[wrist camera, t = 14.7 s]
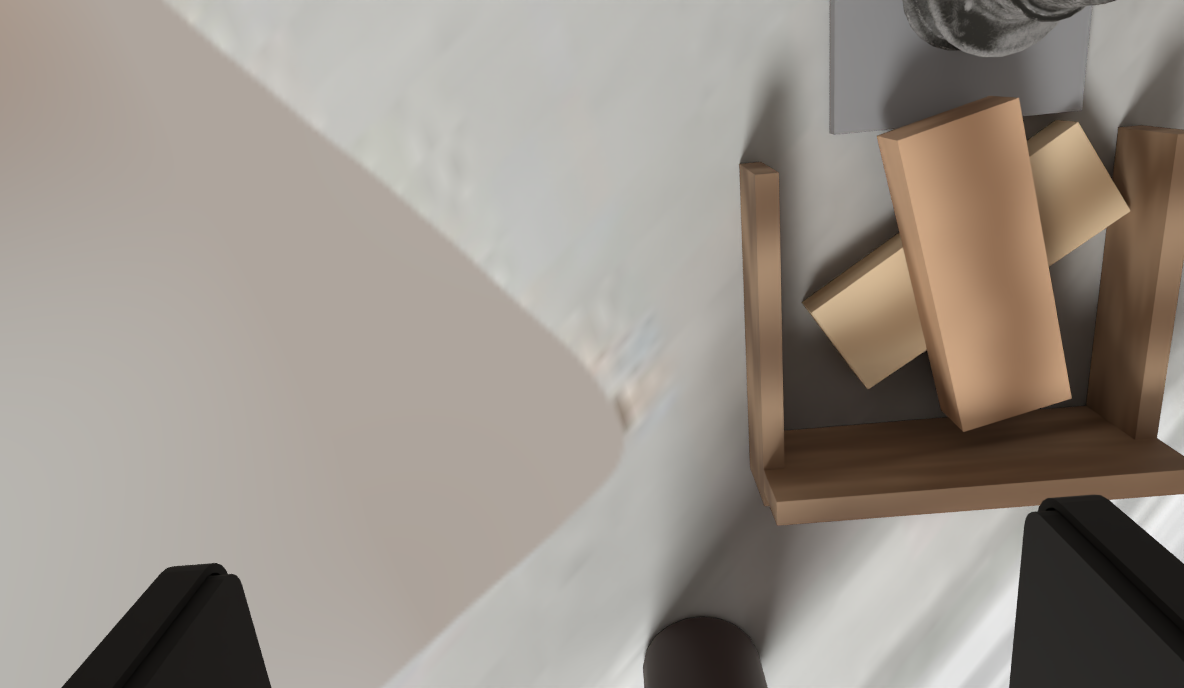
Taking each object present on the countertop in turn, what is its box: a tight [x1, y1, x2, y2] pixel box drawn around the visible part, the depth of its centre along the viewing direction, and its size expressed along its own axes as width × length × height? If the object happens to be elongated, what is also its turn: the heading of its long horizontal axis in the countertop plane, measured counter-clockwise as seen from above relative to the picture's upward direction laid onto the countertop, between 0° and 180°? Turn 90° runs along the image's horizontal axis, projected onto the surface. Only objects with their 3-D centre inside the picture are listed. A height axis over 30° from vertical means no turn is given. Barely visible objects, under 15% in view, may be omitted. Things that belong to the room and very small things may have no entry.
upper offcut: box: [877, 96, 1072, 432], centre depth 36 cm, size 5×14×2 cm, turn 20°
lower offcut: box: [802, 120, 1130, 389], centre depth 38 cm, size 5×14×2 cm, turn 129°
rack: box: [739, 125, 1184, 526], centre depth 36 cm, size 16×18×7 cm
